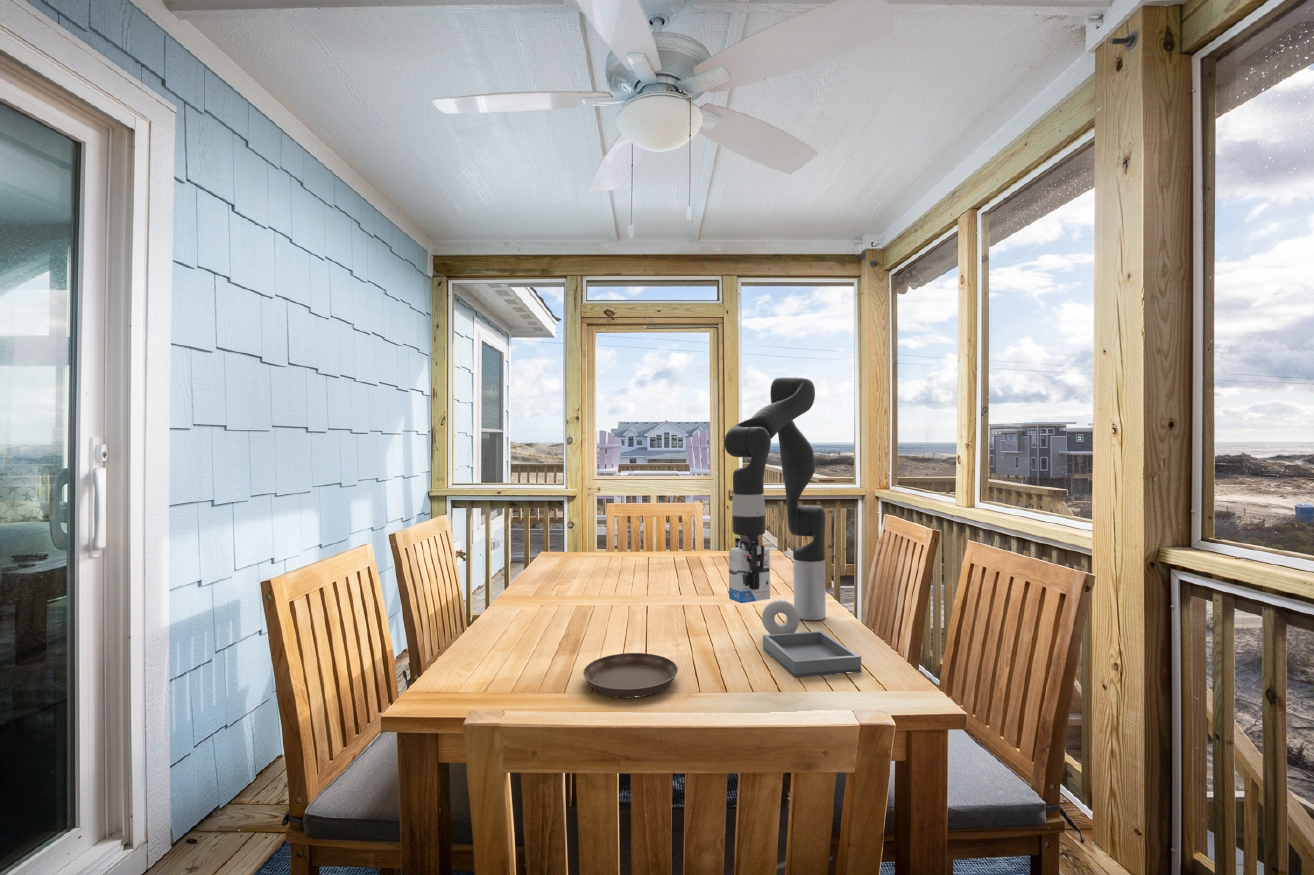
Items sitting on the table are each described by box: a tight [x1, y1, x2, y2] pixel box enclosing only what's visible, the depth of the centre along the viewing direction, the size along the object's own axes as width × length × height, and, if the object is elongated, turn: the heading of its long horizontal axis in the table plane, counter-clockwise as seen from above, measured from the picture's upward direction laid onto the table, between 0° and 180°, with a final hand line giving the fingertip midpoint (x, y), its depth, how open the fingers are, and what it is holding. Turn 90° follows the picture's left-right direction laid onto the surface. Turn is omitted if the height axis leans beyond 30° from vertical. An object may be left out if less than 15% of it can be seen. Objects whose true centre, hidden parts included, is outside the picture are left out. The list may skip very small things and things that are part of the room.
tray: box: [762, 630, 862, 679], centre depth 150 cm, size 20×16×4 cm
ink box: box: [728, 547, 771, 604], centre depth 145 cm, size 8×5×12 cm, turn 117°
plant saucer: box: [582, 652, 679, 698], centre depth 137 cm, size 21×21×3 cm
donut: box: [761, 599, 801, 635], centre depth 168 cm, size 10×4×10 cm, turn 81°
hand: (749, 585), depth 145 cm, fingers closed on ink box, 5 cm apart
